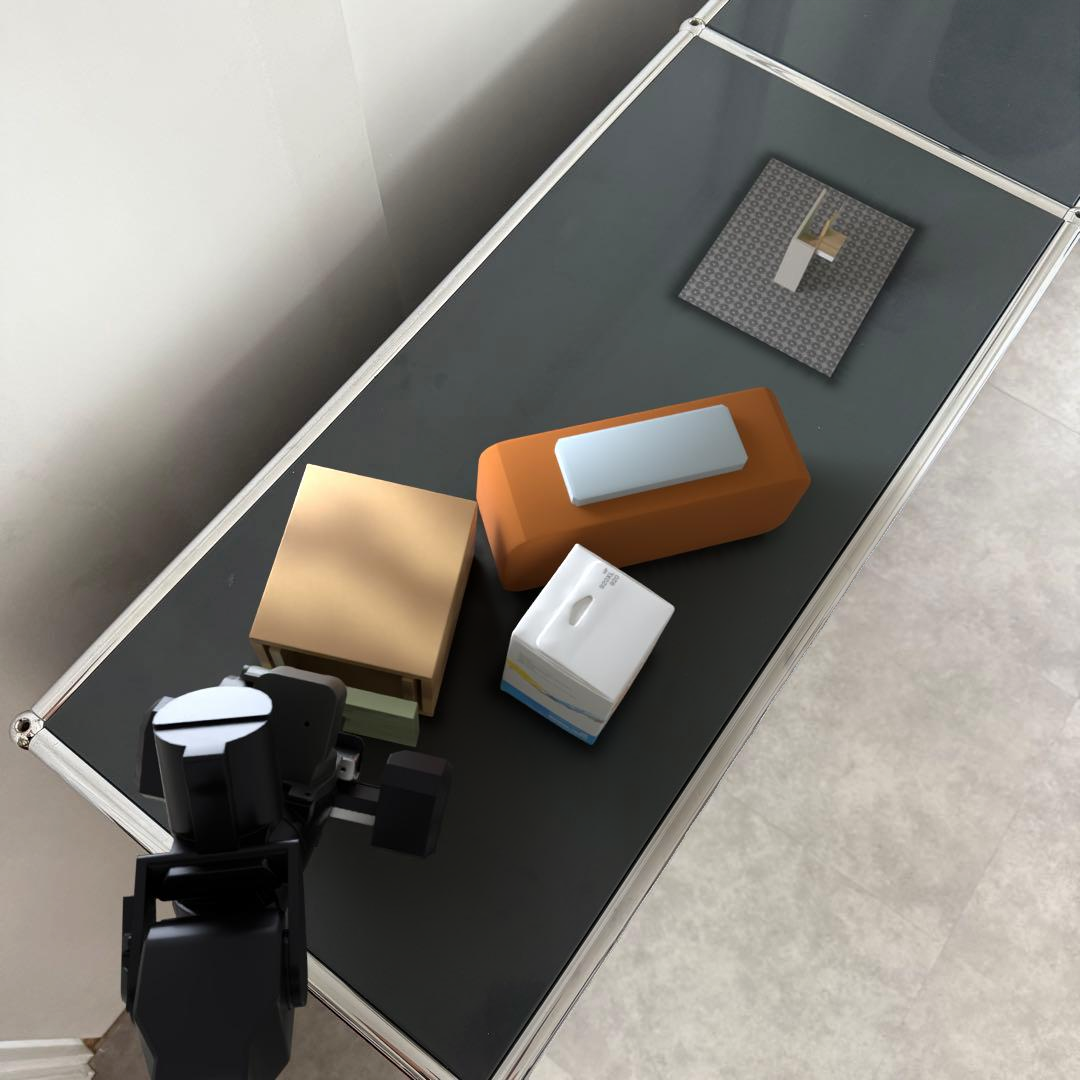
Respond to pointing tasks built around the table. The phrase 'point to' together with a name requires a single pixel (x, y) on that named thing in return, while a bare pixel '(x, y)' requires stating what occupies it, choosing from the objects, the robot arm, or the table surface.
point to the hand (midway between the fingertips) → (330, 712)
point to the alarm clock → (639, 485)
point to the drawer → (366, 696)
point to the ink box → (583, 643)
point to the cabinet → (369, 577)
